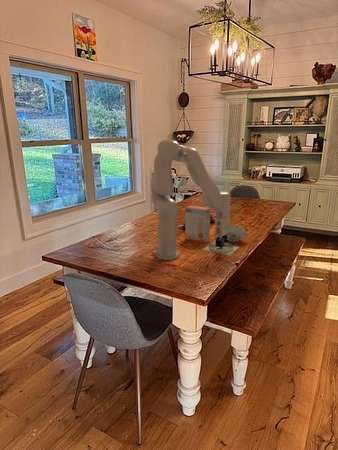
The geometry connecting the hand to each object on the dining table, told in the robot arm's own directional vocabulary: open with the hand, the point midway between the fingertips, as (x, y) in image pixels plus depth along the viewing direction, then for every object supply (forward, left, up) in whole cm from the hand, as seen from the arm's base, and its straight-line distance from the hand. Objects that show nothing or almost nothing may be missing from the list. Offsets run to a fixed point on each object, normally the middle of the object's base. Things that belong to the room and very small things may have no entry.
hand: (221, 244), depth 179 cm
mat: (0, 0, -3) cm, 3 cm away
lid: (0, 0, -2) cm, 2 cm away
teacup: (+2, +16, -3) cm, 16 cm away
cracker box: (-18, +5, -3) cm, 19 cm away
